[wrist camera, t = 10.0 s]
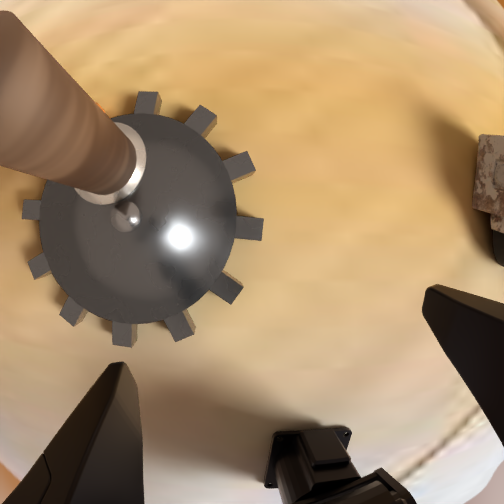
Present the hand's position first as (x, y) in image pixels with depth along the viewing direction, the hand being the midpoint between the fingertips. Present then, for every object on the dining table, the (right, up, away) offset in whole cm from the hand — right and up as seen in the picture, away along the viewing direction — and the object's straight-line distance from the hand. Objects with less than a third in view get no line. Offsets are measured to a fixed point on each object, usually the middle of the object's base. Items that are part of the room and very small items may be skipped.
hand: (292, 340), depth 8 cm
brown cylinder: (-10, +8, +9) cm, 15 cm away
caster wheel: (+23, +6, +15) cm, 28 cm away
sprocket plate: (-9, +4, +11) cm, 15 cm away
